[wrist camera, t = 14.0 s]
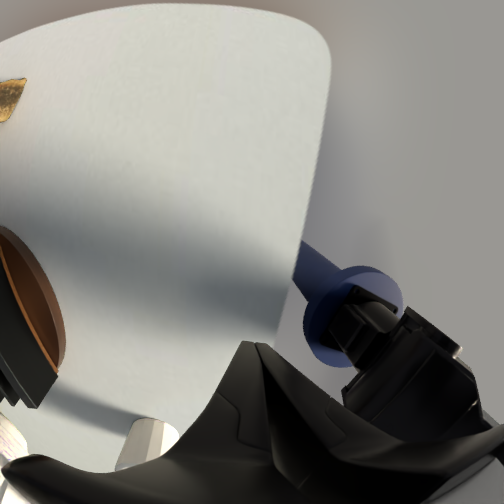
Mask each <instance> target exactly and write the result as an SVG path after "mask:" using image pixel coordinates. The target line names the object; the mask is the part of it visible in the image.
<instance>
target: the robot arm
mask: <svg viewBox="0 0 504 504" xmlns="http://www.w3.org/2000/svg"><path fill="white" fill-rule="evenodd" d="M356 289H358V291H357V292H355V290H356ZM393 310H394V311H393ZM404 312H405V313H404V314H403V316H402V317H401V319H399V318H398V317H397V316H396V314H397V313H398V307H397V306H396V305H394V304H392V303H390V302H389V301H387V300H385V299H383V298H381V297H379V296H377V295H376V294H374V293H372V292H370V291H368V290H366V289H365V288H363V287H361V286H359V285H354V286H353V287H352V288H351V290H350V291H349V293H348V295H347V296H346V298H345V299H344V301H343V303H342V304H341V305H340V306H339V308H338V310H337V311H336V313H335V314H334V316H333V317H332V319H331V320H330V322H329V324H328V325H327V328H326V329H325V331H324V332H323V334H322V335H321V336H320V338H319V342H320V344H321V345H323V346H326V347H328V348H331V349H334V350H337V351H340V352H343V353H345V355H346V356H347V357H348V359H349V360H350V362H351V363H352V365H353V366H354V368H355V369H356V371H357V372H358V374H357V375H356V376H355V377H354V378H353V379H352V381H351V382H350V383H349V384H348V385H347V386H345V387H344V388H343V389H342V390H341V392H342V397H343V404H344V406H343V405H341V404H340V403H339V402H337V401H336V400H335V399H333V398H330V396H329V395H328V394H327V393H326V392H324V391H323V390H322V389H320V388H319V387H318V386H317V385H316V384H314V383H313V382H312V381H310V380H309V379H308V378H307V377H306V376H304V375H303V374H302V373H301V372H300V371H298V370H297V369H296V368H295V367H294V366H292V365H291V364H290V363H289V362H287V361H286V360H285V359H284V358H283V357H282V356H280V355H279V354H278V353H277V352H276V351H274V350H273V349H272V348H271V347H270V346H269V345H268V344H266V343H258V342H256V343H254V342H250V341H242V342H241V343H240V345H239V347H238V349H237V351H236V353H235V355H234V357H233V359H232V361H231V362H230V364H229V366H228V368H227V370H226V372H225V374H224V376H223V378H222V379H221V381H220V383H219V385H218V387H217V389H216V391H215V392H214V394H213V396H212V398H211V399H210V401H209V403H208V404H207V406H206V408H205V409H204V410H203V412H202V413H201V414H200V416H199V417H198V418H197V419H196V421H195V422H194V423H193V424H192V425H191V426H190V427H189V428H188V430H187V431H186V432H185V433H184V434H183V435H182V436H181V437H180V438H179V440H178V441H177V442H176V443H175V444H174V445H173V446H172V447H171V448H170V449H169V450H168V451H167V452H165V453H164V454H163V455H161V456H160V457H158V458H156V459H153V460H150V461H147V462H144V463H141V464H138V465H135V466H132V467H129V468H125V469H122V470H119V471H115V472H110V473H93V472H87V471H83V470H80V469H77V468H74V467H71V466H69V465H67V464H64V463H62V462H60V461H58V460H55V459H53V458H50V457H47V456H44V455H40V454H31V455H27V456H24V457H20V458H17V459H14V460H12V461H10V462H8V463H7V464H6V465H4V466H3V467H2V468H1V473H2V475H3V477H4V478H5V479H6V480H7V481H8V482H9V483H10V484H11V485H12V486H13V487H14V488H15V489H16V490H17V491H18V492H19V493H20V494H21V495H22V496H23V497H24V498H25V499H26V500H27V501H28V502H30V503H31V504H504V424H501V425H500V424H498V423H497V422H496V421H495V420H494V419H493V418H492V417H491V416H490V415H488V414H487V413H486V412H485V411H484V410H483V409H482V408H481V402H480V398H479V393H478V389H477V384H476V380H475V377H474V375H473V373H472V370H471V369H470V367H468V366H467V365H466V364H465V363H464V362H463V361H461V360H460V359H459V358H458V355H459V354H460V352H461V351H462V350H463V348H461V347H460V346H459V345H458V344H457V343H455V342H454V341H453V340H452V339H450V338H449V337H448V336H447V335H445V334H444V333H443V332H441V331H440V330H439V329H438V328H436V327H435V326H434V325H432V324H431V323H429V322H428V321H427V320H426V319H424V318H423V317H422V316H420V315H419V314H418V313H416V312H415V311H414V310H412V309H411V308H410V307H408V306H407V308H406V309H405V311H404ZM324 339H326V340H325V341H323V340H324Z"/></svg>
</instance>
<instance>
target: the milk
mask: <svg viewBox="0 0 504 504" xmlns="http://www.w3.org/2000/svg"><path fill="white" fill-rule="evenodd" d="M0 504H31V503H30V502H28V501H27V500H26V499H25V498H24V497H23V496H22V495H21V494H20V493H19V492H18V491H17V490H16V489H15V488H14V487H13V486H12V485H11V484H10V483H9V482H8V481H7V480H6V479H5V481H3V483H2V485H1V487H0Z"/></svg>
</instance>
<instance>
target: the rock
mask: <svg viewBox="0 0 504 504" xmlns="http://www.w3.org/2000/svg"><path fill="white" fill-rule="evenodd" d="M26 81H27V80H26V78H23V79H21V80H13V79H11V80H8V81H6V82H0V123H1V122H5V121H6V120H7V119H8V118H9V117H10V115H11V113H12V111H13V109H14V107H15V105H16V104H17V102H18V100H19V98H20V96H21V93H22V91H23V88H24V85H25V83H26Z"/></svg>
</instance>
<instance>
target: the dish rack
mask: <svg viewBox="0 0 504 504" xmlns="http://www.w3.org/2000/svg"><path fill="white" fill-rule="evenodd" d="M57 373H58V369H57V368H56V366H55V365H54V363H53V361H52V360H51V358H50V356H49V355H48V353H47V351H46V350H45V348H44V346H43V344H42V342H41V341H40V339H39V337H38V335H37V333H36V331H35V329H34V327H33V325H32V324H31V321H30V319H29V317H28V315H27V313H26V311H25V309H24V307H23V304H22V302H21V300H20V298H19V295H18V293H17V290H16V288H15V285H14V283H13V280H12V278H11V275H10V272H9V270H8V267H7V264H6V261H5V258H4V255H3V252H2V248H1V245H0V403H1V401H2V400H3V399H4V397H5V398H6V399H7V401H8V402H9V403H10V405H11V406H15V405H16V403H17V402H18V400H19V399H20V398H21V400H22V401H23V402H24V404H25V405H26V406H27V407H28V408H34V409H37V408H38V407H39V405H40V403H41V402H42V400H43V399H44V397H45V396H46V394H47V393H48V391H49V390H50V388H51V387H52V385H53V384H54V382H55V381H56V379H57V378H58V375H57Z"/></svg>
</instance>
